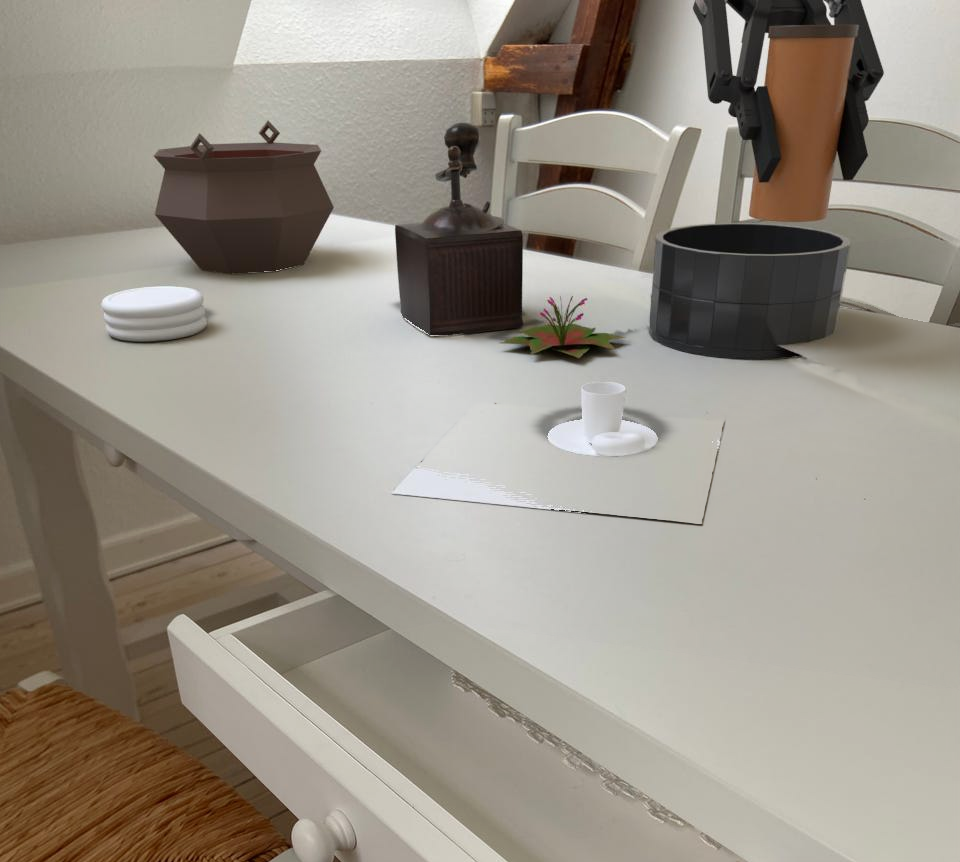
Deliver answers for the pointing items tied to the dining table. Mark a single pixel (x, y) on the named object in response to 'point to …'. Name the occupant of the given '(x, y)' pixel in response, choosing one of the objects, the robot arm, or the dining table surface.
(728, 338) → the pot
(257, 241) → the brown cauldron
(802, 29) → the travel tumbler
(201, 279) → the dining table surface
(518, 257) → the coffee grinder
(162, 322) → the coaster
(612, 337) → the lily flower
